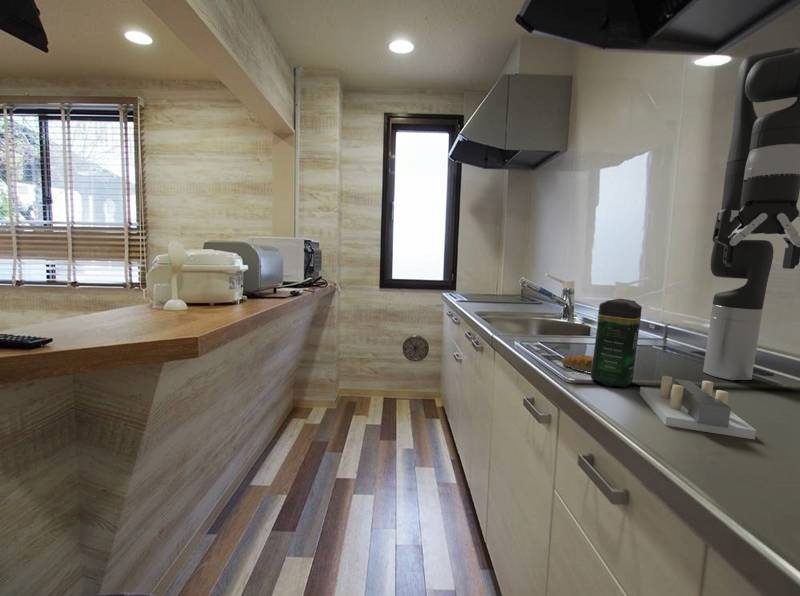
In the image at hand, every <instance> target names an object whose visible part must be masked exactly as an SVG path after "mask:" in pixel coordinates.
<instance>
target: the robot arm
mask: <svg viewBox="0 0 800 596" xmlns="http://www.w3.org/2000/svg"><path fill="white" fill-rule="evenodd" d="M793 98H796V100H795V102H793V103H792V104H791V105H789V106H787V107H785V108H781V109H780V110H776V111H772V112H770V113H767V114H764V115H761V116H760V117H758V115H757V113H756V111H755V107H754V103H765V102H773V101H779V100H784V99H785V100H786V99H793ZM733 111H734V113H733V126H732V132H731V138H730V139H731V140H730V143H729V144H730V145H729V149H728V155H727V160H726V167H725V171H724V172H725V174H724V181H723V192H722V200H721V209H720V210H719V211H718V212H717V215H716V220H715V224H714V230H713V234H712V239H711V240H712V242H713V248H712V252H711V255H710V256H711V257H710V271H711V273H712V275H713V276H714V277H718V278H724V279H725V278H726V279H729V278H730V279H740V280H741V279H742V280H746V283H745V284H744V285H742V286H741V287H738V288H735V289H731V290H727V291H720V292H716V293H715V294H714V295H713V299H712V305H711V313H710V321H709V328H708V335H707V342H706V348H705V349H706V350H705V356H704V362H703V363H704V364H703V368H702V371H703V373H705V374H707V375H709V376H712V377H715V378H720V379H724V380H729V381H735V380H751V381H752V378H753V372H754V366H755V363H756V362H755V360H756V354H757V347H758V341H759V335H760V329H761V321H762V316H763V308H764V305H765V304H764V302H765V298H766V292H767V285H768V281H769V277H770V273H771V270H772V269H771V268H772V265H773V259H774V246H773V243H772V242H771V241H769V240H768V239H767V240H765V239H744V238H746V237H747V236H749V235H750V234H751V235H753V234H754V235H757V234H759V235H760V234H765V235H775V234H776V235H777V237H778V238H779V239H782V241H783V242H784V244H785V245H786V246H787V247H785V248H784V253H783V261H782V269H784V270H785V269H787V270H793V269H795V267H796V266H798V265H799V264H800V235H799V231H798V230H797V229H796V227H795V226H794V225H793V224H792V222H794V221H795V220H796V218H798V221H799V222H800V210H799V209H798V207H797V206H798V205H797V204H798V202H799V198H800V47H796V46H795V47H786V48H782V49H781V48H780V49H777V50H771V51H765V52H762V53H757V54H752V55H749V56H747V57H745V58H744V59H743V60H742V61H741V63H740V66H739V69H738V71H737V78H736V85H735V101H734V110H733Z"/></svg>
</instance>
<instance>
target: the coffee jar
mask: <svg viewBox="0 0 800 596" xmlns="http://www.w3.org/2000/svg"><path fill="white" fill-rule="evenodd" d="M598 307H599V309H598V313H597V314H598V315H597V324H596V334H595V343H594V349H593V356H592V357H593V363H592V370H591V374H590V379H591V380H593V379H594V380H593V381H595V380H597V381H596V382H598V381H599V382H598V383H600V382H601V383H602V385H604V384H605V385H604V386H607V387H612V386H615V387H621V388H622V387H623V388H624V387H628V386H629V385H631V384H632V382H633V380H634V371H635V365H636V364H635V362H636V355H637V348H638V341H639V334H640V333H639V332H640V326H641V319H642V318H641V317H642V310H643V307H642V305H641V304H639V303H637V302H636V301H635V300H631V299H626V298H615V299H611V300H609V299H608V300H606V301H603V302H601V303H599V306H598ZM601 383H600V384H601Z"/></svg>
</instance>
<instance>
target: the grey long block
mask: <svg viewBox="0 0 800 596" xmlns="http://www.w3.org/2000/svg"><path fill="white" fill-rule="evenodd" d="M673 385H681V386H683V387H684V390H683V397H682V405H683V406H684V407H685V408H686V409H687V410H688V414H689V415H690V416H691V417H692V418H693V419H694V420H695V421H696V422H697V423H700V424H706V425H713V426H719V427H726V428H728V425H729V418H730V412H732V408H731V407H730V406H729V405H728V404H727V405H726V404H725V403H723V402H722V401H721V400H719V399H715V397H713V395H712V396H710V395H709V394H708V393H706V392H705V391H704V390H702V387H699V386H698V385H697V384H695V383H694V382H693V381H691V380H687V379H686V380H684V379H677V378H673V379H672V386H673Z"/></svg>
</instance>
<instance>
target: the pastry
mask: <svg viewBox="0 0 800 596" xmlns="http://www.w3.org/2000/svg"><path fill="white" fill-rule="evenodd" d="M561 362H562V364H564V365H567V366H570V367H573V368H575V369H579V370H583V371H587V372H591V370H592V363H593V356H591V355H586V354H585V355H580V354H579V355H574V356H573V355H571V356H565V357H562V358H561ZM564 365H563V366H564Z"/></svg>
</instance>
